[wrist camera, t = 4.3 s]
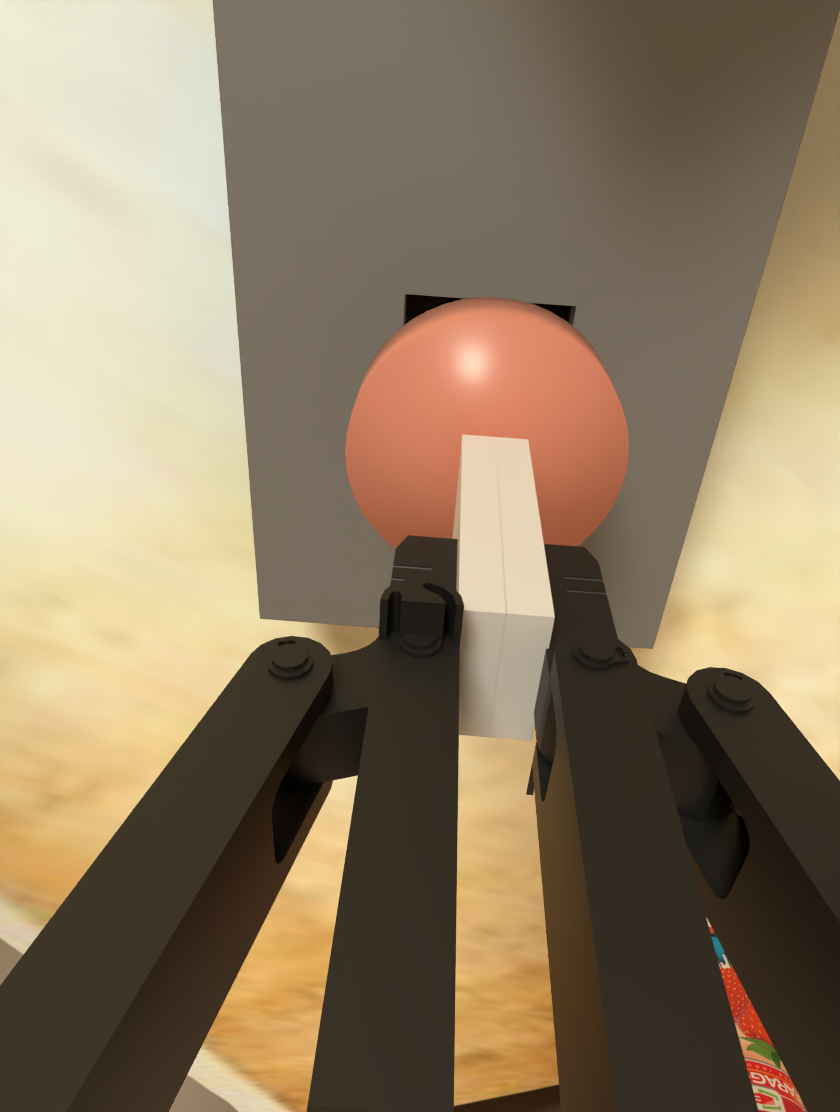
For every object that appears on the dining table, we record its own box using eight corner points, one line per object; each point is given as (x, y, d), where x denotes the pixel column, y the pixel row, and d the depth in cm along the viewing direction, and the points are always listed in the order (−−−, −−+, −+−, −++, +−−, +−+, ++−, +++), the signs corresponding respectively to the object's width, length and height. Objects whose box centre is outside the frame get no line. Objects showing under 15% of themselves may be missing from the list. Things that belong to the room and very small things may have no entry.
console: (290, 535, 34) (260, 618, 29) (265, -22, 23) (209, -43, 18) (625, 561, 34) (652, 648, 29) (761, 10, 23) (842, -2, 18)
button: (374, 443, 28) (344, 567, 21) (379, 237, 24) (345, 310, 17) (567, 457, 28) (599, 586, 21) (604, 253, 24) (658, 332, 17)
